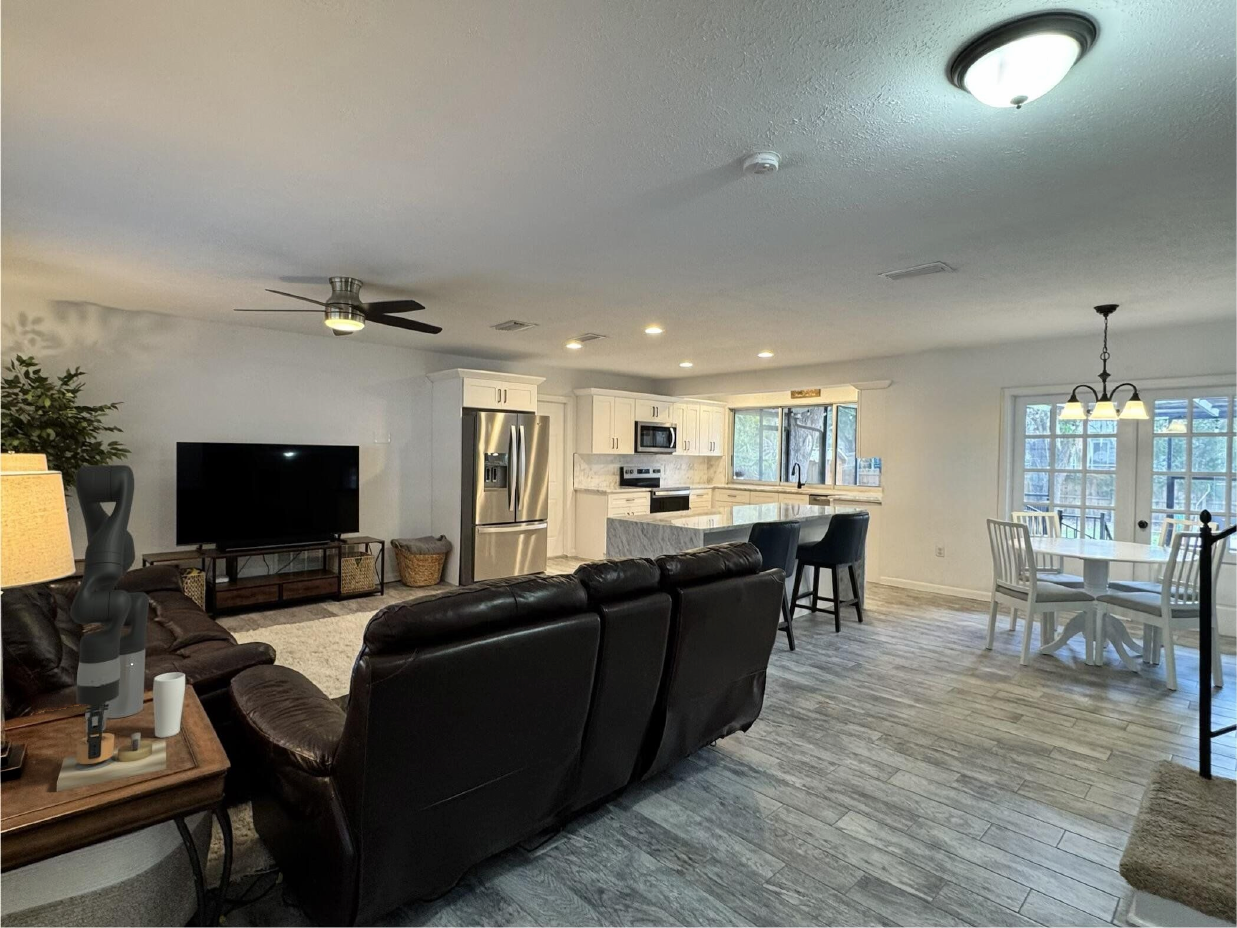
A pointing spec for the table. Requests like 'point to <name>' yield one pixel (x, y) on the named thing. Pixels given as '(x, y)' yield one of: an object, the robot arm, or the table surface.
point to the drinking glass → (168, 703)
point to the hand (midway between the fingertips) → (95, 751)
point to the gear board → (115, 764)
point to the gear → (106, 749)
